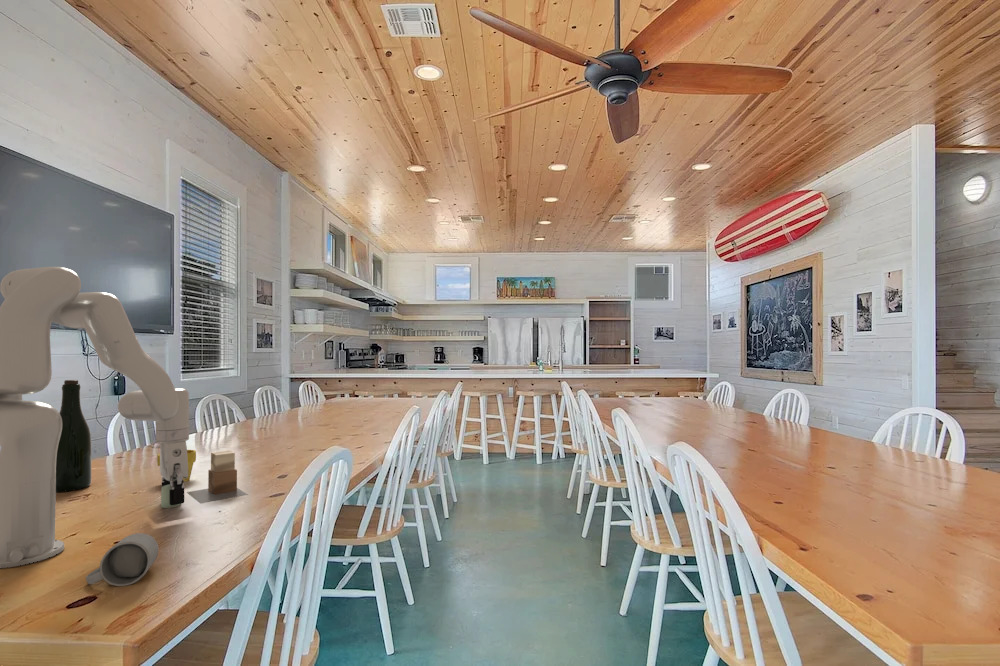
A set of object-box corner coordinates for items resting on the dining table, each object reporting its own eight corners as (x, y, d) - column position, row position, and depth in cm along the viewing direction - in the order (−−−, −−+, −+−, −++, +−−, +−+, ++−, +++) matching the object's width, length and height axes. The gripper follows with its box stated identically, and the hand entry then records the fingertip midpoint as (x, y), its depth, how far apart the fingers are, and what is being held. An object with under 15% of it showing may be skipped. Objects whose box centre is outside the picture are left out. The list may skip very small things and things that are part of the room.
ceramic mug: (160, 565, 103) (160, 525, 103) (149, 582, 95) (149, 539, 95) (95, 575, 99) (94, 534, 99) (78, 594, 91) (77, 549, 91)
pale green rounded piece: (183, 509, 139) (183, 486, 139) (162, 512, 136) (163, 489, 136) (179, 505, 142) (179, 483, 142) (159, 509, 139) (159, 486, 139)
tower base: (236, 490, 153) (237, 469, 153) (214, 494, 148) (214, 473, 149) (230, 486, 157) (230, 466, 157) (208, 490, 153) (208, 469, 153)
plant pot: (159, 481, 167) (160, 450, 168) (197, 478, 172) (197, 448, 172) (154, 489, 158) (154, 457, 158) (193, 485, 162) (194, 453, 163)
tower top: (234, 469, 153) (234, 452, 153) (215, 472, 149) (215, 455, 149) (229, 467, 156) (229, 450, 157) (210, 469, 153) (211, 452, 153)
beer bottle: (46, 487, 161) (48, 379, 162) (90, 481, 168) (91, 378, 168) (46, 494, 153) (48, 381, 154) (92, 488, 160) (94, 379, 161)
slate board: (247, 498, 148) (247, 494, 148) (200, 507, 140) (200, 503, 140) (231, 487, 159) (231, 484, 159) (186, 495, 151) (186, 492, 151)
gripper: (196, 437, 136) (197, 504, 135) (181, 429, 148) (181, 490, 148) (162, 441, 131) (163, 510, 130) (149, 433, 143) (149, 496, 143)
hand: (172, 500), depth 139 cm, fingers open, 9 cm apart
